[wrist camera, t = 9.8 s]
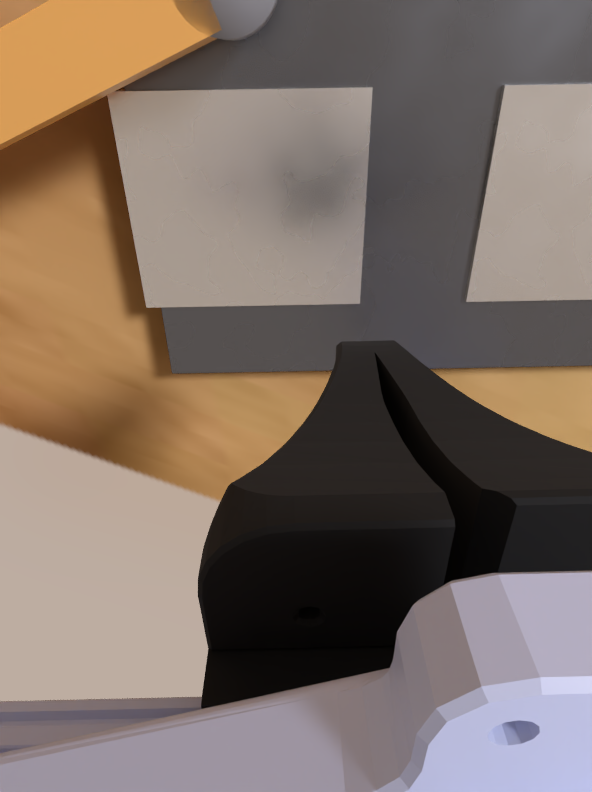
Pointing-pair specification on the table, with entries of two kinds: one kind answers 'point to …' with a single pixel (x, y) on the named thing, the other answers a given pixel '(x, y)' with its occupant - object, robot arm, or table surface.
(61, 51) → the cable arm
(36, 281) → the table surface
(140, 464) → the table surface
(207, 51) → the psu panel
